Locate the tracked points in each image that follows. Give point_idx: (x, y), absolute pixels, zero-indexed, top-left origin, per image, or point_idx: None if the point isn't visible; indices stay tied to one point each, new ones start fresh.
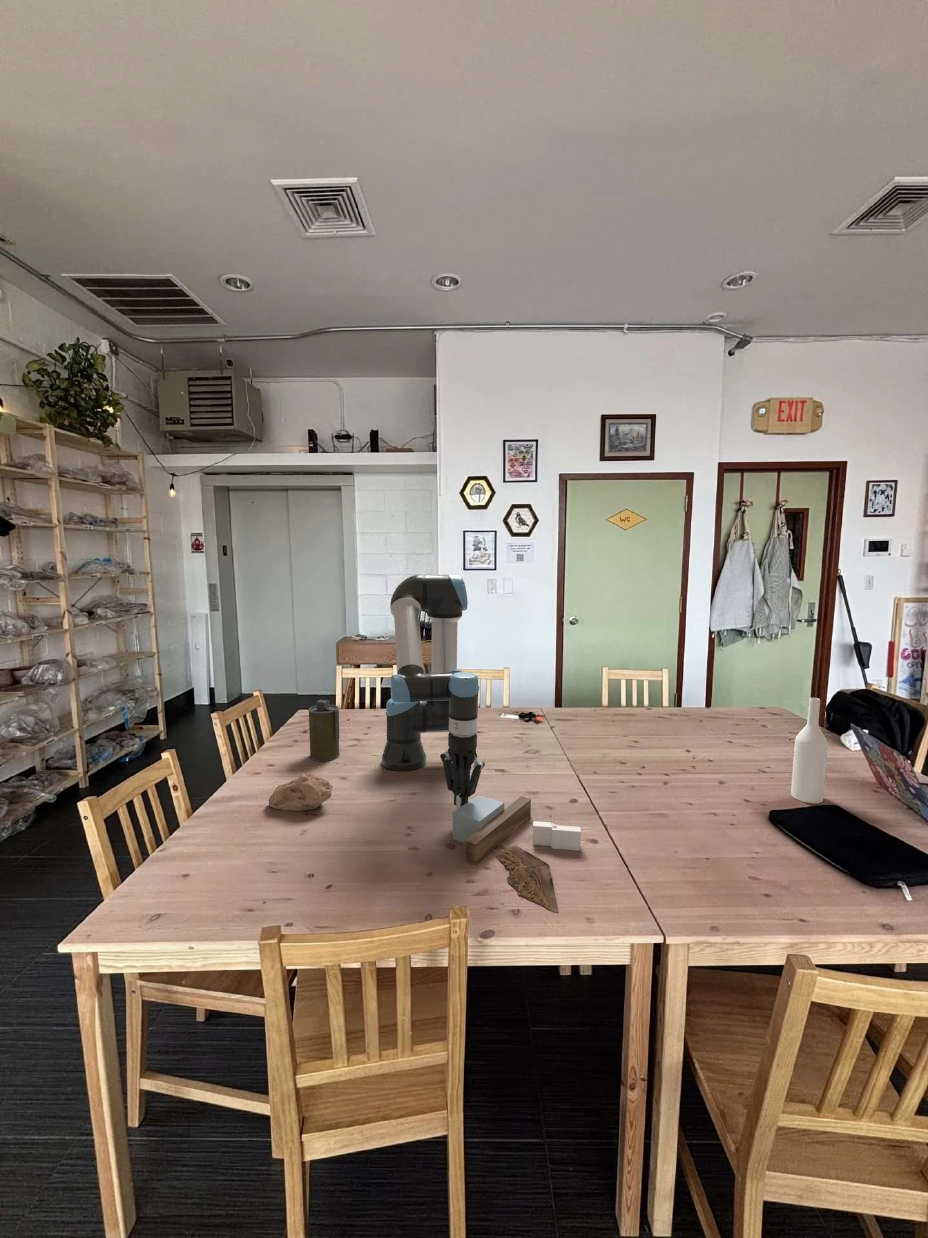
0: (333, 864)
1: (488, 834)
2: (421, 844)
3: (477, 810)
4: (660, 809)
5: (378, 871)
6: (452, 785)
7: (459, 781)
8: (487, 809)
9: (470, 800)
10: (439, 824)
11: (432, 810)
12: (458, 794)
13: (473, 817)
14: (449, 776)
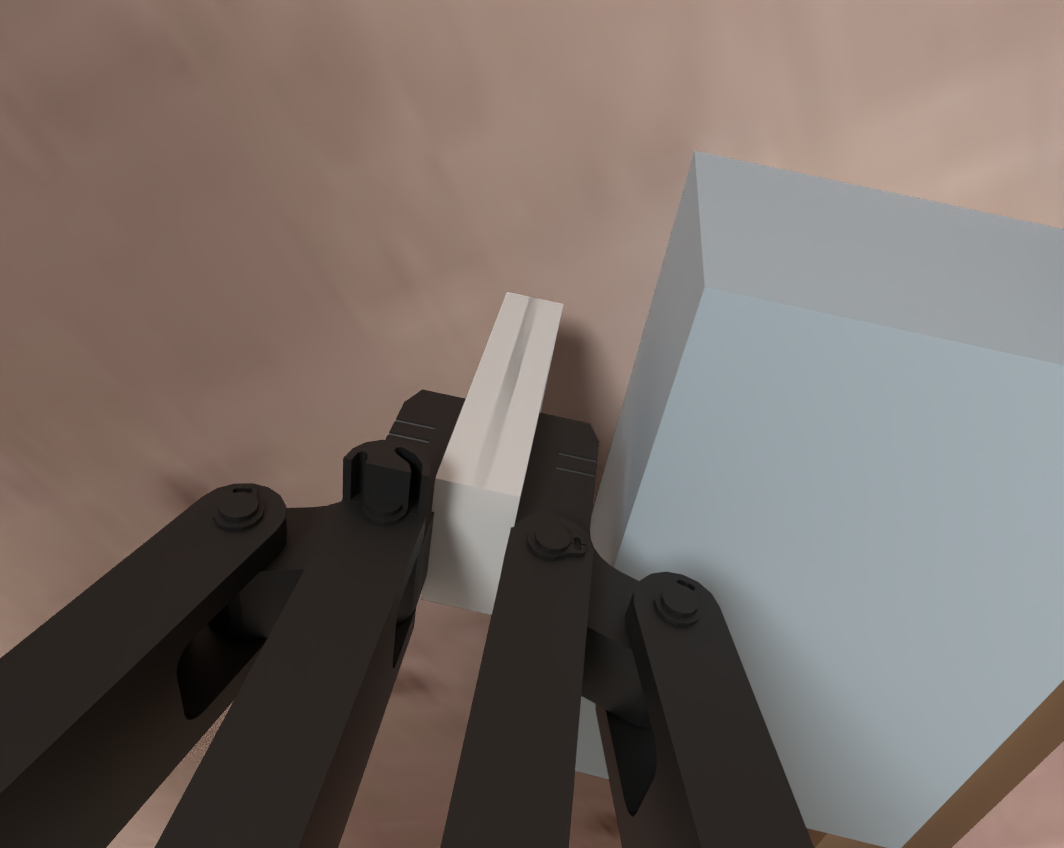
0: (170, 816)
1: (983, 811)
2: (412, 645)
3: (823, 702)
4: None
5: (373, 831)
6: (245, 615)
7: (355, 755)
8: (967, 661)
9: (637, 508)
10: (359, 390)
11: (109, 150)
12: (427, 563)
13: (810, 809)
14: (106, 834)
